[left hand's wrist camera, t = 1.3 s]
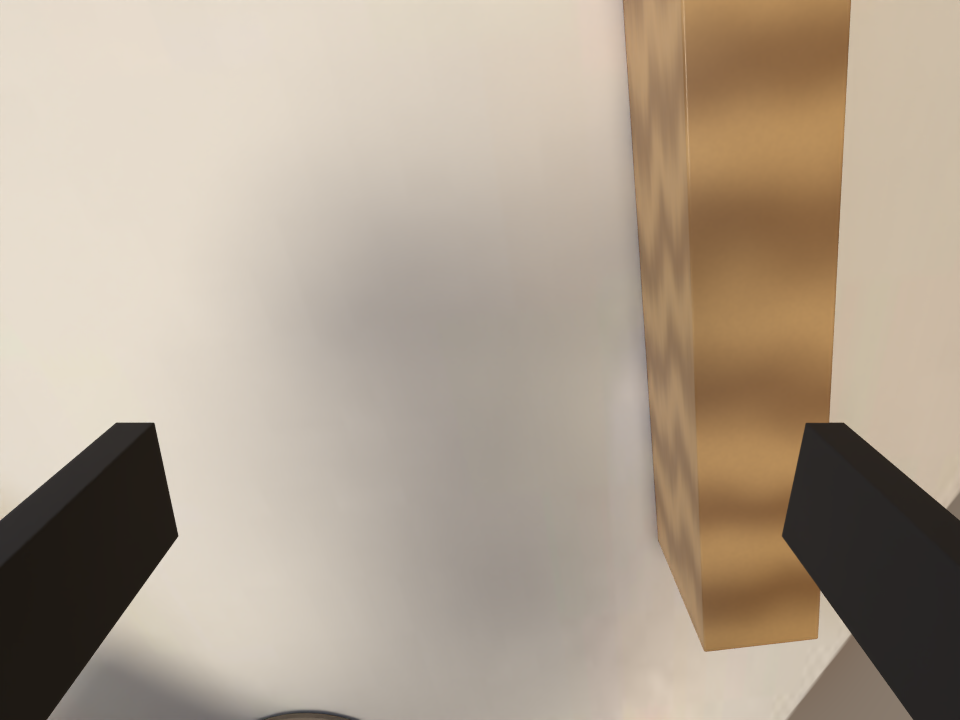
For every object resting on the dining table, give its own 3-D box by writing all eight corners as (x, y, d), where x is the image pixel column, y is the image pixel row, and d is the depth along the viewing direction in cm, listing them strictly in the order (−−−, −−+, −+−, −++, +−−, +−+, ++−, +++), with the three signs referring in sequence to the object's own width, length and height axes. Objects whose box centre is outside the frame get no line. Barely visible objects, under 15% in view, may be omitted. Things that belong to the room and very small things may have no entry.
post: (748, 529, 38) (818, 639, 30) (657, 540, 39) (704, 652, 31) (746, -738, 20) (919, -1297, 12) (576, -696, 21) (637, -1215, 13)
